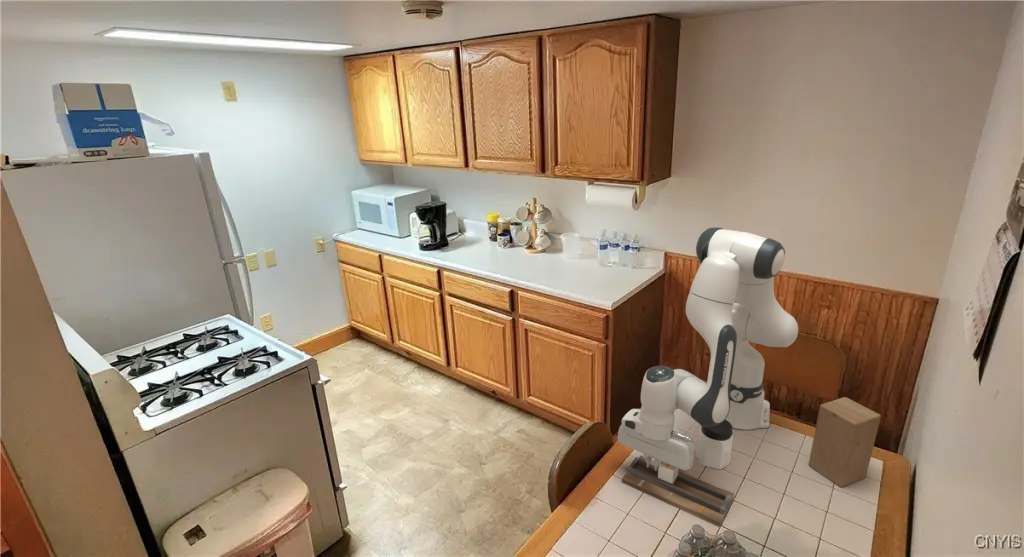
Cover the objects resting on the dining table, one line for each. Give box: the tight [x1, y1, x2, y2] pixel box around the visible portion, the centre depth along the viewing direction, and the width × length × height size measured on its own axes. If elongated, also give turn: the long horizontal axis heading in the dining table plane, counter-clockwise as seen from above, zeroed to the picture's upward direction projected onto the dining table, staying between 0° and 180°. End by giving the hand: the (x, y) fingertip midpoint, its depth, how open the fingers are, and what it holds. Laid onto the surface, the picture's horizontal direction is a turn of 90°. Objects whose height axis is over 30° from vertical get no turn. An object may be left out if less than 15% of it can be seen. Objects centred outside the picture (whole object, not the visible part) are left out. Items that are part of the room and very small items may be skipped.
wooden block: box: [808, 396, 882, 488], centre depth 135 cm, size 10×10×20 cm
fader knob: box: [658, 461, 680, 485], centre depth 134 cm, size 4×4×6 cm
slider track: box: [621, 455, 735, 528], centre depth 133 cm, size 12×26×3 cm, turn 52°
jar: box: [696, 420, 734, 470], centre depth 143 cm, size 9×8×12 cm
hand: (652, 468), depth 136 cm, fingers closed
